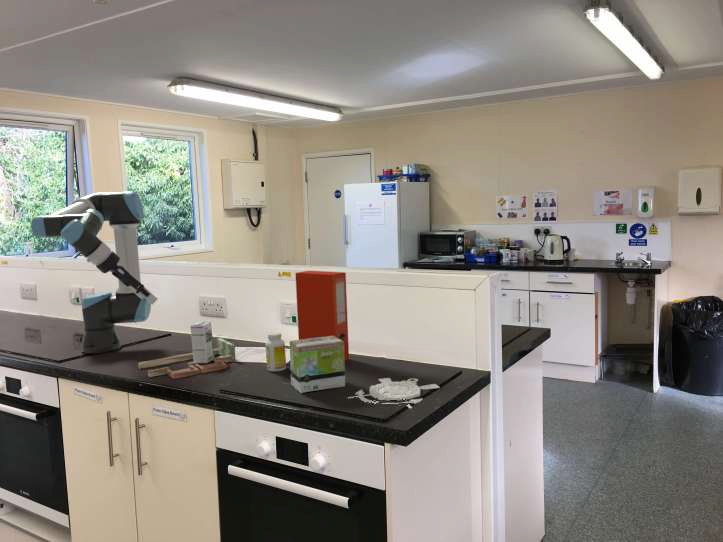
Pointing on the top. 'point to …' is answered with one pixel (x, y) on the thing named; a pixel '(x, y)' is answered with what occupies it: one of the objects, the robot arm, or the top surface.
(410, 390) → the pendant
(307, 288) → the file binder
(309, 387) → the tea box
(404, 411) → the top surface
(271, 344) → the supplement bottle
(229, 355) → the channel
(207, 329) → the syrup box
